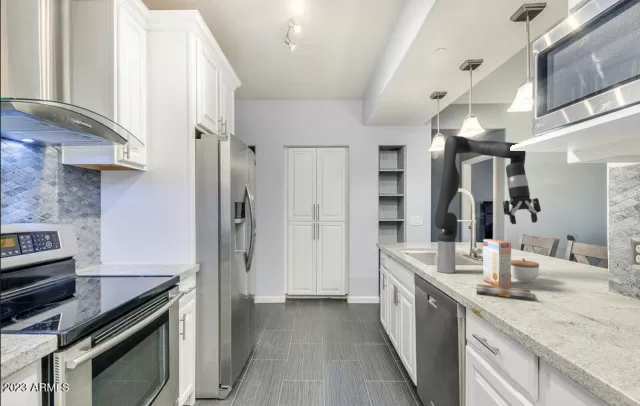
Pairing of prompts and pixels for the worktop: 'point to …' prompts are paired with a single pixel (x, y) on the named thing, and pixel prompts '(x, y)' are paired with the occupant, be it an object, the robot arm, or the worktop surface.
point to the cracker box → (497, 262)
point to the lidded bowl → (524, 270)
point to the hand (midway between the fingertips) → (524, 223)
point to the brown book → (505, 292)
